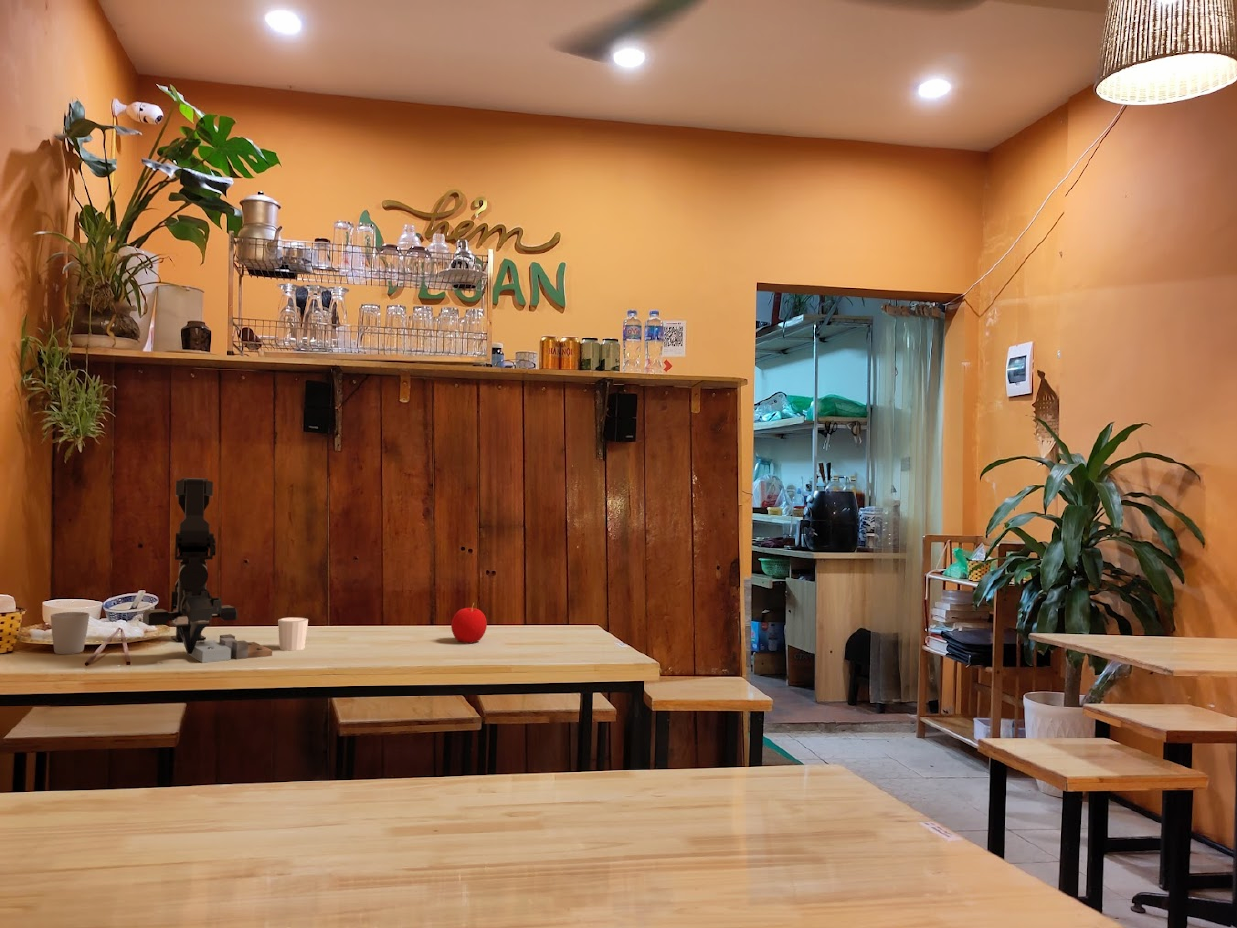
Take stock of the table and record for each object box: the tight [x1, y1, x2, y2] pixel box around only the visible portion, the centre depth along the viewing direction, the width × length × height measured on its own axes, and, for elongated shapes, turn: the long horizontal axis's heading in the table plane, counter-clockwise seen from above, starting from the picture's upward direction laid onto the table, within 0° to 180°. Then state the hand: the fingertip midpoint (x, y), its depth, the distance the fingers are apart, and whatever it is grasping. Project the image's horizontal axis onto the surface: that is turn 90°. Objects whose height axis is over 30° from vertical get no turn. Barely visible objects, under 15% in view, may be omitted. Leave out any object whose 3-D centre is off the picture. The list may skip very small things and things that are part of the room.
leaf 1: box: [188, 637, 238, 663], centre depth 214 cm, size 8×12×4 cm
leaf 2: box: [218, 633, 273, 660], centre depth 219 cm, size 8×12×4 cm, turn 40°
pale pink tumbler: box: [277, 616, 309, 652], centre depth 226 cm, size 7×7×7 cm
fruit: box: [451, 602, 488, 644], centre depth 243 cm, size 9×9×10 cm
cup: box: [50, 611, 90, 655], centre depth 214 cm, size 8×10×8 cm
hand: (189, 653), depth 211 cm, fingers closed
